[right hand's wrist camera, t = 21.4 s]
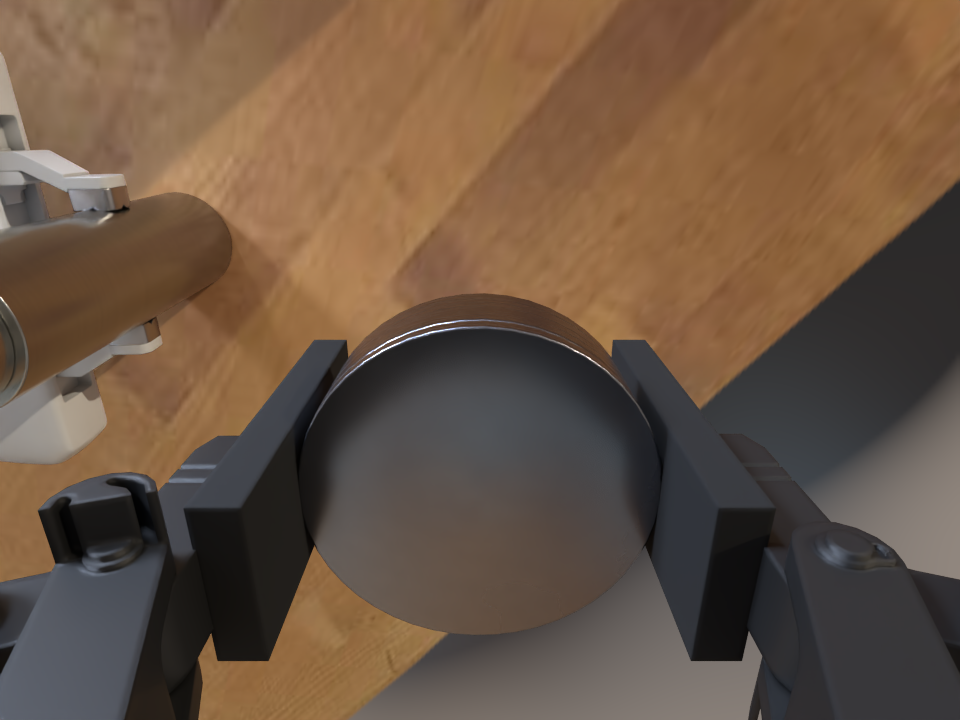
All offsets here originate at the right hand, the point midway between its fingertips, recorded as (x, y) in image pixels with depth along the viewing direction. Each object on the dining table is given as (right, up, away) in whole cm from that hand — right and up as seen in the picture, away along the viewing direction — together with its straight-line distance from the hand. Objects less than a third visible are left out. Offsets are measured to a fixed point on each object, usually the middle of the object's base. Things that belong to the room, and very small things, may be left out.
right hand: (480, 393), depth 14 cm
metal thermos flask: (-17, +8, +20) cm, 27 cm away
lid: (0, -1, -4) cm, 4 cm away
